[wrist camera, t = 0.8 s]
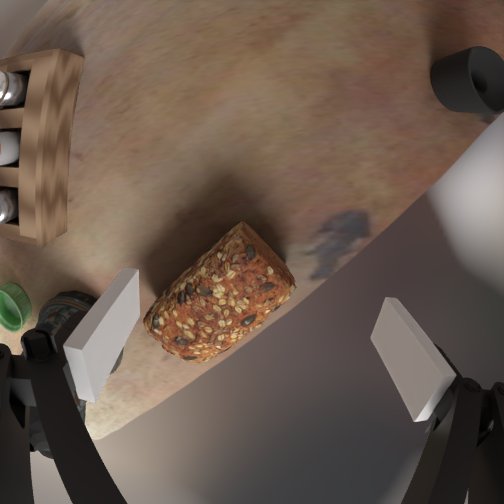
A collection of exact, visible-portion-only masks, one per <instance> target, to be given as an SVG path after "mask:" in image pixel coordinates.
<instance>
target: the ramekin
mask: <svg viewBox="0 0 504 504" xmlns="http://www.w3.org/2000/svg"><path fill="white" fill-rule="evenodd" d="M30 315H31V304H30V301H29V299H28V297H27V295H26V294H25V292H24V291H23V290H22V289H21V288H20V287H19V286H17V285H16V284H14V283H7V284H5V285H3V286H2V287H0V324H1V325H2V326H3V327H4V328H5V329H6V330H8V331H10V332H14V333H16V332H19V331H20V330H21V329H22V327H23V325H24V324H25V323H26V321H27V320H28V319H29V317H30Z"/></svg>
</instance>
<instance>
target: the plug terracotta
mask: <svg viewBox="0 0 504 504" xmlns="http://www.w3.org/2000/svg"><path fill="white" fill-rule="evenodd" d="M20 142H21V132H20V131H11V132H0V165H4V164H9V163H14V162H18V161H19V156H20Z"/></svg>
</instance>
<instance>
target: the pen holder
mask: <svg viewBox="0 0 504 504" xmlns="http://www.w3.org/2000/svg"><path fill="white" fill-rule="evenodd" d="M431 83H432V87H433V90H434V92H435V94H436V96H437V98H438V99H439V101H440V102H441V103H442V104H443V105H444V106H445V107H446V108H448V109H450V110H452V111H455V112H466V113H483V114H500V113H502V112H504V61H503V60H502V58H501V57H500V56H499V55H498V54H497V53H496V52H495V51H493V50H491V49H489V48H486V47H481V46H475V47H472V48H469V49H466V50H463V51H460V52H458V53H455V54H452V55H450V56H447V57H445V58H442V59H440V60H438V61H437V62H436V63H435V64H434V66H433V68H432V71H431Z"/></svg>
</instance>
